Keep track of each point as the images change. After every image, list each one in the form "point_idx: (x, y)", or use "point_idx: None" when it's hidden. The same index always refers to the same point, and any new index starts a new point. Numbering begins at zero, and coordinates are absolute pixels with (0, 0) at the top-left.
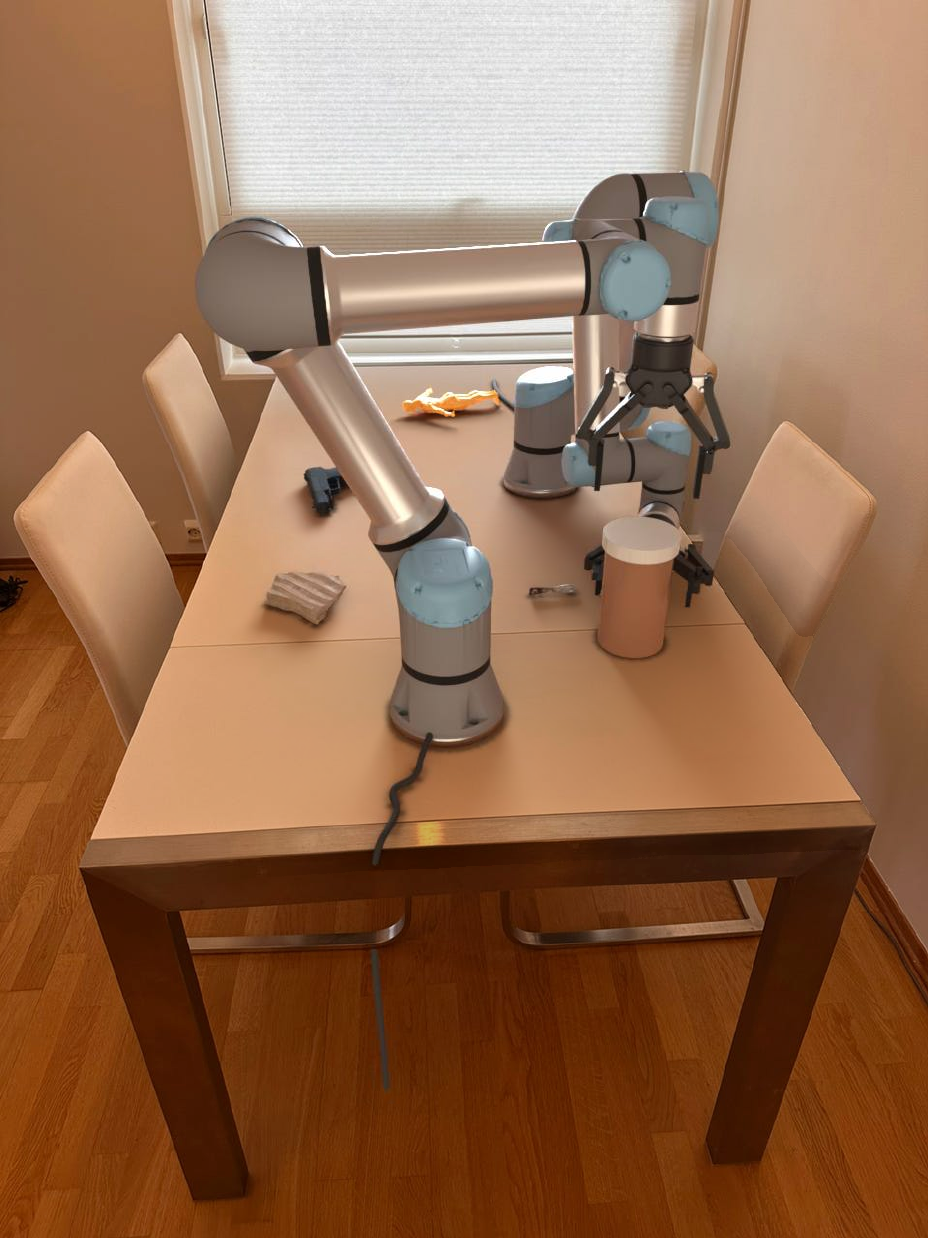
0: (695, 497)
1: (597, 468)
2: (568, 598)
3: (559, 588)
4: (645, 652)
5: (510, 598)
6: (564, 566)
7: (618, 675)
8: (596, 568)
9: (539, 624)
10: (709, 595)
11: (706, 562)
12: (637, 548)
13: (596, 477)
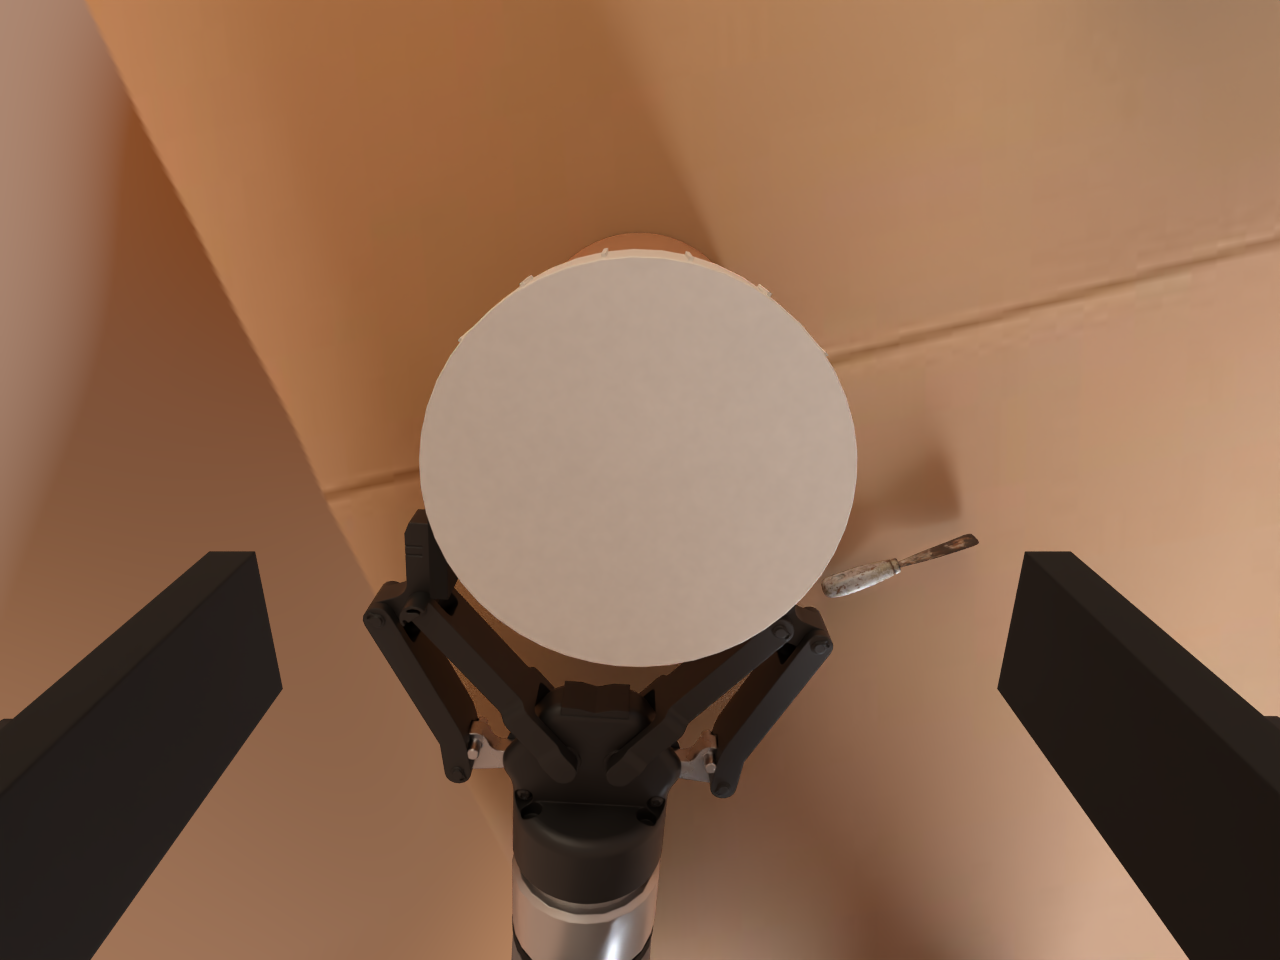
0: (233, 554)
1: (1191, 671)
2: (840, 546)
3: (877, 569)
4: (584, 248)
5: (1026, 513)
6: (854, 716)
7: (666, 116)
8: None
9: (933, 379)
10: None
11: (396, 673)
12: (657, 278)
13: (1131, 615)
